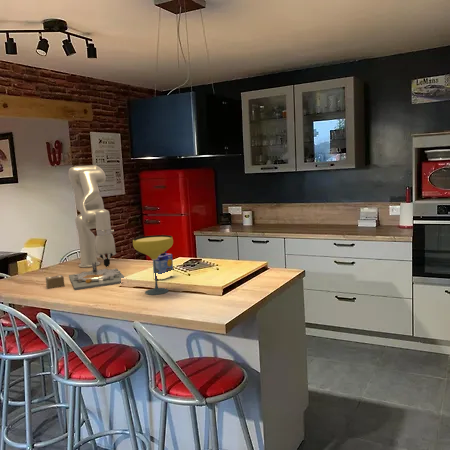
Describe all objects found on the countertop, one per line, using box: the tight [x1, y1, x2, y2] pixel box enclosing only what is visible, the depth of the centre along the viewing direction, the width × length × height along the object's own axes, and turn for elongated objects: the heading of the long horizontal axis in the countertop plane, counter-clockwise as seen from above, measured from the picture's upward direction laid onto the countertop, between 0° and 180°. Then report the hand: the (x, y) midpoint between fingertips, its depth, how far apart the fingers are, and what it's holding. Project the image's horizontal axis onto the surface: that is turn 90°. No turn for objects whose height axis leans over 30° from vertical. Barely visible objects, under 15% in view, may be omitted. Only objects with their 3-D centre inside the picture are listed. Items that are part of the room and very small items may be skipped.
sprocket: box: [73, 262, 121, 283], centre depth 246 cm, size 24×24×6 cm
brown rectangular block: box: [45, 274, 65, 290], centre depth 237 cm, size 5×8×5 cm, turn 118°
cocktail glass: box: [132, 234, 174, 296], centre depth 215 cm, size 18×18×25 cm
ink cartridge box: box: [152, 251, 174, 274], centre depth 241 cm, size 10×6×14 cm, turn 144°
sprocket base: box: [68, 268, 126, 291], centre depth 247 cm, size 32×26×3 cm
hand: (107, 266), depth 255 cm, fingers closed
